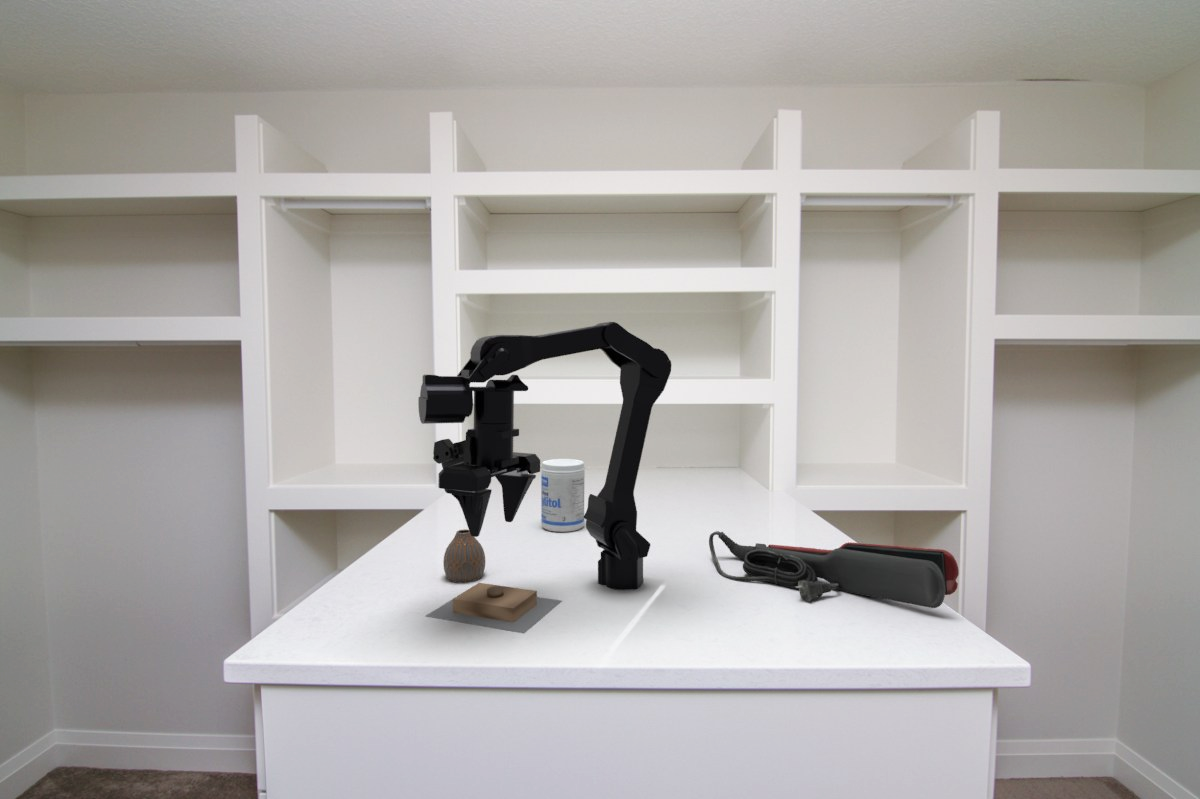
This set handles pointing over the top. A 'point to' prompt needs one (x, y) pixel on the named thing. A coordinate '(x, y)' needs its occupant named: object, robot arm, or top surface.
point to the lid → (495, 602)
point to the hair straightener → (850, 570)
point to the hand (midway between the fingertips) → (492, 528)
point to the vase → (464, 558)
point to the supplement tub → (562, 495)
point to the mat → (518, 626)
